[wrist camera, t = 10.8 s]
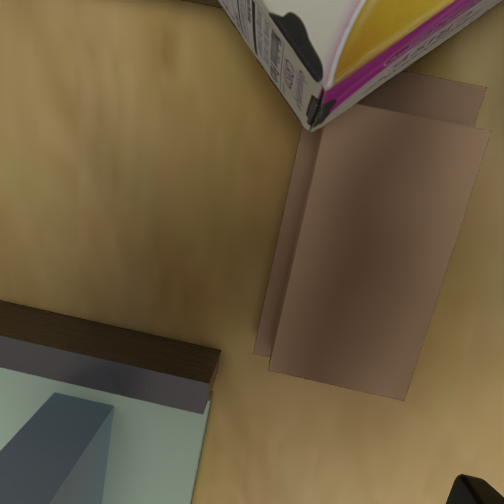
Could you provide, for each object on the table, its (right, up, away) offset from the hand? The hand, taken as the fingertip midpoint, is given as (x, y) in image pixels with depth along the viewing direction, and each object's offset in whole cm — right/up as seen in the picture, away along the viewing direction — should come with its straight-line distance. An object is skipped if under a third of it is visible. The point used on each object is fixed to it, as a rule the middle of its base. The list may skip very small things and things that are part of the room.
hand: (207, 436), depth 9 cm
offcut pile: (+5, +5, +12) cm, 14 cm away
